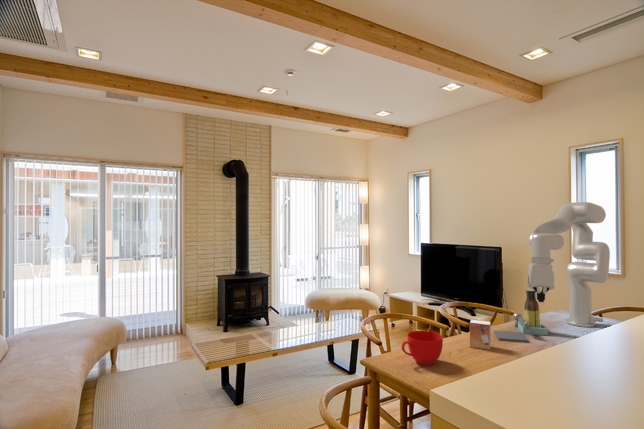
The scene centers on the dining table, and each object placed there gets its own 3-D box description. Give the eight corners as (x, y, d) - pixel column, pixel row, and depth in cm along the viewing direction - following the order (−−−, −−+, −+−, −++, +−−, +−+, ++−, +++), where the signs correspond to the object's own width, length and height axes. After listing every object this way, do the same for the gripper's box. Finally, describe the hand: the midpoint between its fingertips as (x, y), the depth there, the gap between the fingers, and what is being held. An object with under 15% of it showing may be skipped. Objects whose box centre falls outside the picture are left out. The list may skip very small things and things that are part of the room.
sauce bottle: (536, 329, 186) (535, 288, 186) (542, 333, 180) (542, 291, 180) (522, 329, 187) (521, 288, 187) (528, 333, 180) (527, 290, 181)
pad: (522, 334, 178) (521, 332, 178) (528, 342, 166) (528, 340, 166) (494, 332, 181) (494, 330, 181) (498, 340, 170) (498, 338, 170)
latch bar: (521, 318, 192) (520, 312, 192) (531, 329, 172) (531, 323, 172) (513, 317, 193) (513, 311, 193) (523, 329, 173) (523, 322, 173)
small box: (469, 347, 161) (469, 322, 161) (471, 343, 166) (470, 319, 166) (490, 350, 157) (489, 324, 157) (491, 346, 162) (490, 321, 162)
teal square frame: (539, 327, 189) (539, 320, 189) (548, 335, 176) (547, 327, 176) (514, 325, 192) (514, 318, 192) (520, 333, 179) (520, 325, 179)
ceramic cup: (392, 360, 146) (392, 334, 146) (427, 354, 153) (427, 329, 153) (413, 373, 134) (413, 344, 134) (450, 365, 141) (450, 338, 141)
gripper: (556, 261, 175) (556, 301, 175) (520, 259, 179) (520, 299, 179) (562, 262, 168) (562, 304, 167) (524, 261, 172) (524, 302, 171)
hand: (540, 301), depth 173 cm, fingers closed
